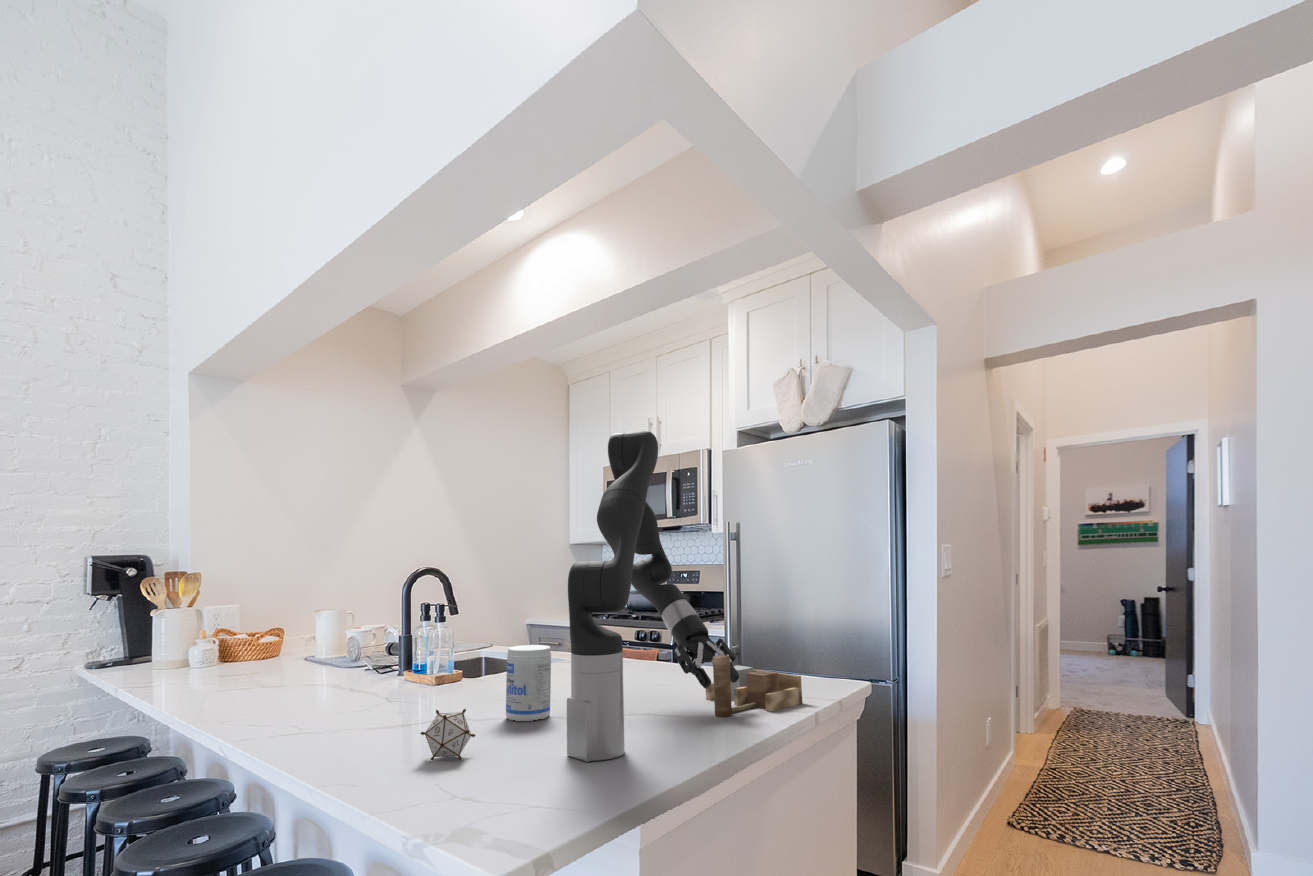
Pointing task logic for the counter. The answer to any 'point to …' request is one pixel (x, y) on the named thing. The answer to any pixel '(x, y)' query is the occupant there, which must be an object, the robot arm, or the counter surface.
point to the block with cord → (756, 687)
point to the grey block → (740, 678)
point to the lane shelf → (773, 701)
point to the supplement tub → (528, 682)
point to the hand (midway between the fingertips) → (722, 683)
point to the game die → (448, 734)
